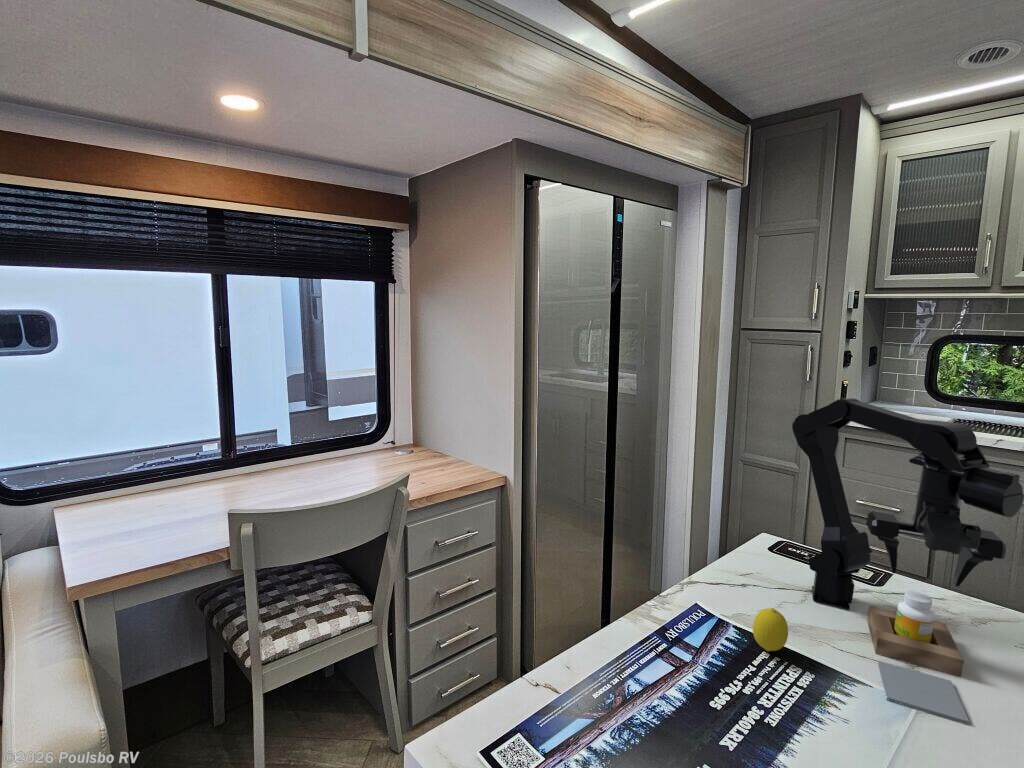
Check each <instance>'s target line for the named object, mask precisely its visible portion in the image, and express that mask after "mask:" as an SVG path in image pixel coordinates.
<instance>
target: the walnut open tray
mask: <svg viewBox="0 0 1024 768" xmlns="http://www.w3.org/2000/svg"><path fill="white" fill-rule="evenodd" d="M896 614H897V611H894V610H890V609H885V608H882V607H879V606H874V605H868V610H867V616H866V617H867V618H866V622H867V625H868V629H869V633H870V637H871V641H872V642H871V643H872V646H873V649H874V650H873V651H874V653H875V654H876V655H880V656H882V657H888V658H891V659H895V660H898V661H902V662H904V663H909V664H913V665H916V666H921V667H924V668H928V669H931V670H933V671H934V670H935V671H939V672H941V673H946V674H949V675H953V676H957V677H962V672H963V667H964V662H965V660H964V657H963V656H962V654H961V652H960V649H959V647H958V646H957V644H956V642H955V639H954V638H953V635H952V634H951V632H950V630H949V627H948V626H947V624H946V623H943V622H940V621H936V620H934V624H933V630H932V636H931V641H930V643H926V642H922V641H918V640H914V639H910V638H906V637H902V636H898V635H894V626H895V620H896Z"/></svg>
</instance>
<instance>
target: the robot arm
mask: <svg viewBox="0 0 1024 768" xmlns="http://www.w3.org/2000/svg"><path fill="white" fill-rule="evenodd" d="M851 422H852V423H856V424H858V425H861V426H864V427H867V428H870V429H873V430H875V431H878V432H881V433H884V434H887V435H890V436H893V437H896V438H900V439H901V440H904V441H905V442H907V443H908V444H909V445H910V446H911V447H913V448H914V449H915V450H917V451H919V452H920V453H919V454H918V455H916V456H914V457H911V458H909V459H908V461H909V463H910V464H913V465H918V466H919V467H920V466H921V467H922V469H921V473H920V481H919V485H918V486H919V487H918V492H916V495H915V496H916V497H915V499H916V504H915V510H914V514H913V515H912V521H913V522H912V523H908V522H904V521H899V520H898V519H897V518H896V516H895V514H891V513H886V512H885V513H884V512H879V511H874V510H871V511H870V512H869V513H868V514H867V517H866V522H865V524H866V526H867V529H868V531H869V533H870V534H871V535H873V536H875V537H877V539H878V540H879V541H881V542H883V543H884V545H885V549H886V553H887V558H888V562H889V566H890V571H891V573H892V574H896V571H897V567H898V547H899V545H900V540H899V539H898V538H897V537H898V536H899V535H900V534H905V535H911V536H916V537H920V538H921V537H922V538H923V539H924V545H925V546H926V548H928V549H930V550H933V551H936V552H937V551H942V552H946V553H947V552H948V553H951V554H953V555H958V556H957V562H956V566H955V570H954V574H953V575H954V577H953V585H954V587H960V586H961V585H962V583H963V582H964V581H965V579H966V578H967V576H969V574H970V573H971V572H972V570H973V569H975V568H976V566H977V565H979V564H981V563H984V562H993V561H994V560H995V559H1001V560H1003V559H1006V558H1005V557H1006V552H1007V545H1006V543H1004V541H1002V539H1000V537H998V536H997V534H996V533H995V532H994V531H992V530H986V529H981V527H980V526H979V525H974V524H967V523H962V522H961V517H960V515H961V508H960V500H961V501H963V502H964V504H966V505H968V506H971V507H973V508H976V509H980V510H982V511H983V510H984V511H986V512H989V513H993V514H996V515H998V516H1002V517H1005V518H1012V517H1014V516H1015V515H1016V514H1017V513H1018V512H1019V511H1020V509H1021V507H1022V505H1023V502H1024V492H1023V491H1024V490H1023V489H1024V488H1023V486H1022V484H1021V483H1020V475H1019V474H1017V473H1014V472H1005V471H1001V470H997V469H991V468H990V467H991V466H990V464H989V461H988V460H987V459H986V457H985V456H984V453H983V452H982V450H981V449H980V447H979V445H978V444H977V437H976V434H975V433H974V431H973V429H972V428H971V427H970V426H968V425H966V424H963V423H959V422H951V421H943V420H931V419H922V418H916V417H913V416H911V415H906V414H903V413H900V412H896V411H893V410H890V409H886V408H883V407H880V406H876V405H873V404H870V403H866V402H863V401H861V400H859V399H857V398H853V397H852V398H838V399H836V400H835V401H833V402H832V403H829V404H828V405H826V406H823V407H821V408H819V409H816V410H813V411H811V412H809V413H805V414H800V415H797V417H796V418H795V419H794V421H793V422H792V425H791V427H792V428H791V429H792V433H793V436H794V438H795V441H796V443H797V445H798V447H799V448H800V449H801V450H802V452H804V453H805V455H806V456H807V458H808V460H809V465H810V469H811V473H812V476H813V477H812V478H813V482H814V485H815V486H814V487H815V490H816V496H817V499H818V504H819V506H820V510H821V512H820V513H821V515H822V520H823V523H824V524H823V525H824V528H823V531H822V534H821V539H820V548H821V549H820V550H821V551H820V553H818V554H815V555H814V556H811V557H809V558H808V565H809V569H810V570H811V571H813V572H814V581H813V585H812V586H811V592H812V593H811V595H812V601H814V602H815V603H819V604H822V605H823V604H824V605H828V606H830V607H831V606H833V607H836V608H840V609H843V610H848V611H849V610H850V609H851V607H850V605H851V604H852V603H853V599H854V598H853V597H854V591H855V583H854V579H853V576H852V575H853V574H858V573H859V572H860V570H861V569H863V568H865V567H866V566H868V564H869V563H870V562H871V554H872V553H873V550H872V548H871V547H870V544H869V537H868V536H869V535H868V533H867V532H866V531H862V532H860V531H859V530H858V529H857V528H856V527H855V526H854V524H853V522H852V518H851V515H850V510H849V507H848V506H849V505H848V503H847V499H846V494H845V490H844V486H843V482H842V478H841V474H840V470H839V466H838V462H837V458H836V450H837V447H838V443H839V440H840V438H839V430H841V429H843V428H845V427H847V426H848V425H849V424H850V423H851ZM959 458H962V459H959ZM963 458H964V459H963Z"/></svg>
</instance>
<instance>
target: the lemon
mask: <svg viewBox="0 0 1024 768" xmlns="http://www.w3.org/2000/svg"><path fill="white" fill-rule="evenodd" d="M752 634H753V638H754V640H755V641H756V643H757V644H758V645H759V646H760V647H761V648H762V649H764V650H765V651H766V652H769V653H770V652H776V651H779V650H781V649H782V648H783V647H784V646H785V645H786V644H787V641H788V637H789V627H788V622H787V620H786V618H785V617H784V615H783V614H782V613H781V612H780V611H779V610H776V609H775V608H773V607H771V608H763V609H761V610H760V611H759V612H757V613H756V615H755V617H754V619H753V624H752Z"/></svg>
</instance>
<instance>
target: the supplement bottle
mask: <svg viewBox="0 0 1024 768" xmlns="http://www.w3.org/2000/svg"><path fill="white" fill-rule="evenodd" d="M932 606H933V599H932V597H931V596H929V595H928V594H926V593H922V592H920V591H915V590H906V591H905V592H904V595H903V601H900V602H899V603H898V605H897V609H896V612H897V614H896V620H895V626H894V635H898V636H902V637H906V638H910V639H914V640H918V641H922V642H926V643H930V641H931V636H932V630H933V624H934V621H935V618H936V617H935V612H933V610H932V609H931V608H932Z"/></svg>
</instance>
